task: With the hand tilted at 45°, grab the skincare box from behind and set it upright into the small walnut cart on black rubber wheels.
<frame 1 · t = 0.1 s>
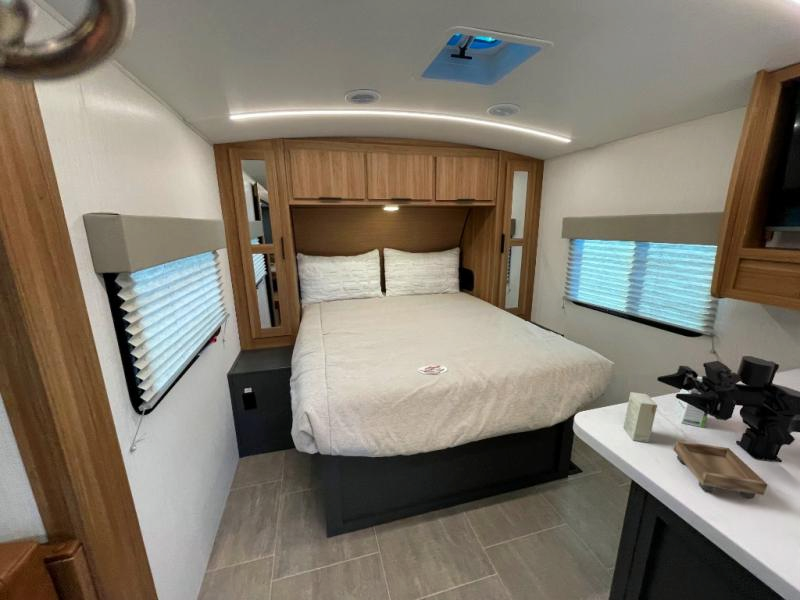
hand: (666, 386, 89), 17 cm above the table, tool horizontal, fingers open, 9 cm apart
skincare box: (634, 435, 94), on the table
wheeled cart: (714, 469, 78), point 3 cm above the table, slide at 0.0 cm
syrup box: (688, 420, 101), on the table
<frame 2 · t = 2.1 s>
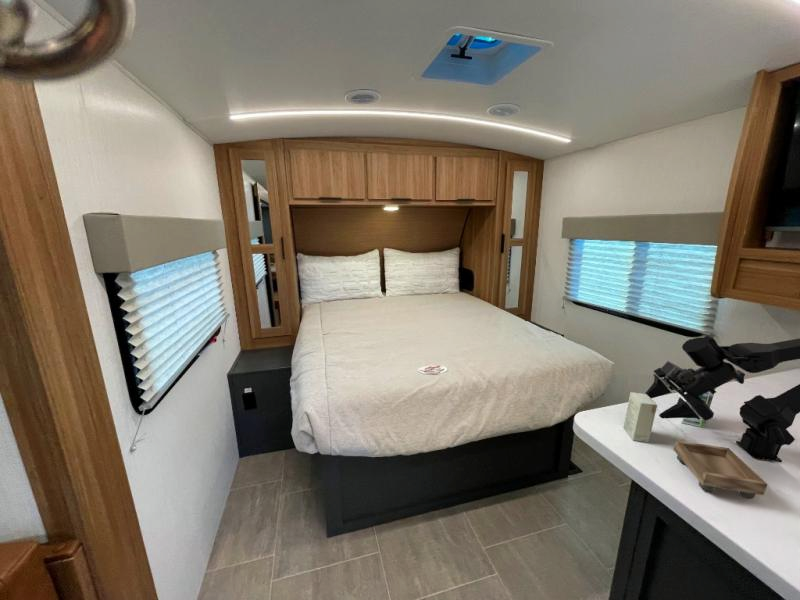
hand: (651, 407, 91), 10 cm above the table, tool tilted 45°, fingers open, 9 cm apart
nothing on the table moved.
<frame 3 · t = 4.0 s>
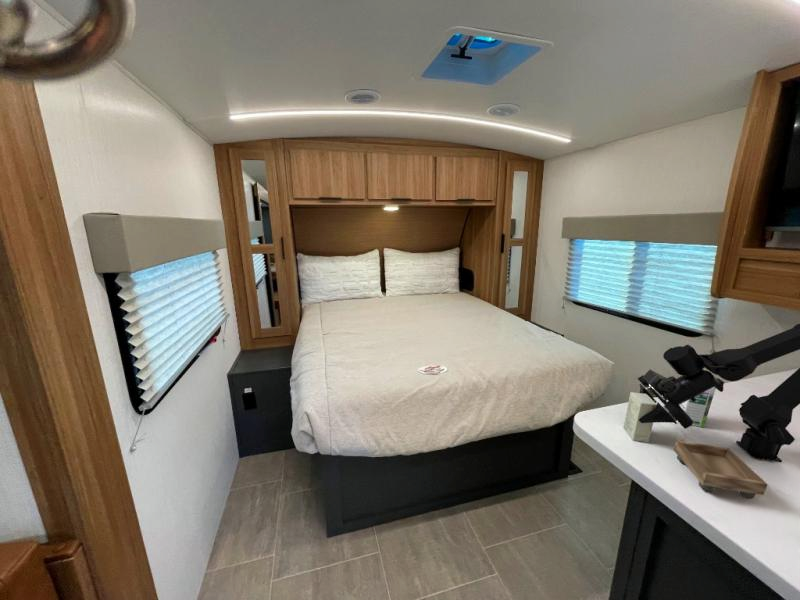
hand: (634, 414, 93), 7 cm above the table, tool tilted 45°, fingers closed on skincare box, 6 cm apart
skincare box: (634, 435, 94), on the table, touching gripper
everything else where it was.
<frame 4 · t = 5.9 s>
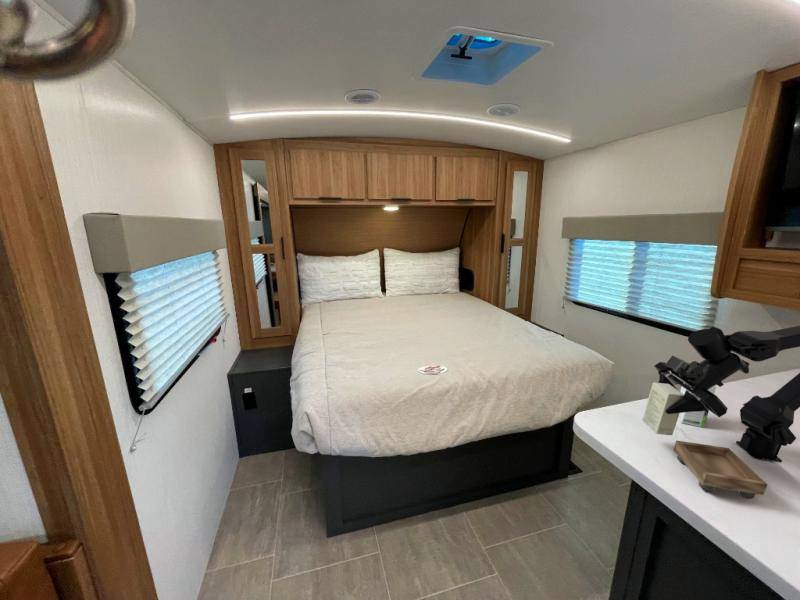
hand: (658, 405, 86), 13 cm above the table, tool tilted 45°, fingers closed on skincare box, 6 cm apart
skincare box: (655, 428, 88), point 6 cm above the table, touching gripper
everything else where it was.
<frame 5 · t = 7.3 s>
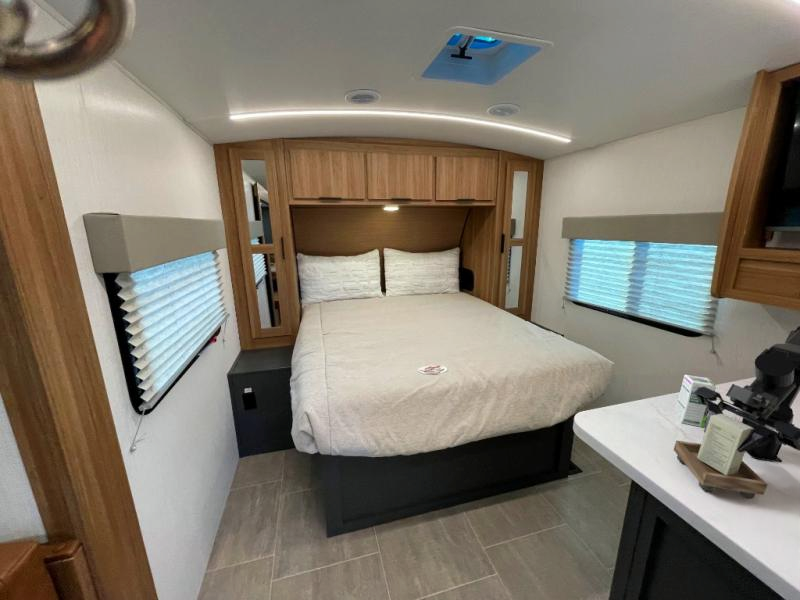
hand: (721, 441, 75), 11 cm above the table, tool tilted 45°, fingers closed on skincare box, 6 cm apart
skincare box: (715, 465, 78), point 4 cm above the table, touching gripper
everything else where it was.
when the fingers open (11 cm above the table, at t = 8.2 s): skincare box stays where it is, resting on wheeled cart.
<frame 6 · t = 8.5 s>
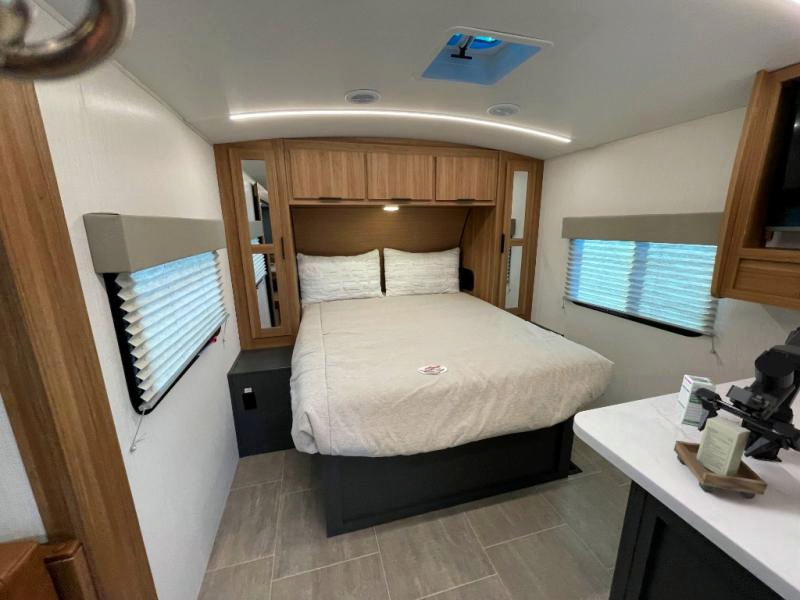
hand: (720, 442, 75), 11 cm above the table, tool tilted 45°, fingers open, 9 cm apart
skincare box: (713, 468, 78), point 3 cm above the table, touching wheeled cart
wheeled cart: (715, 469, 78), point 3 cm above the table, slide at 0.0 cm, touching skincare box
everything else where it was.
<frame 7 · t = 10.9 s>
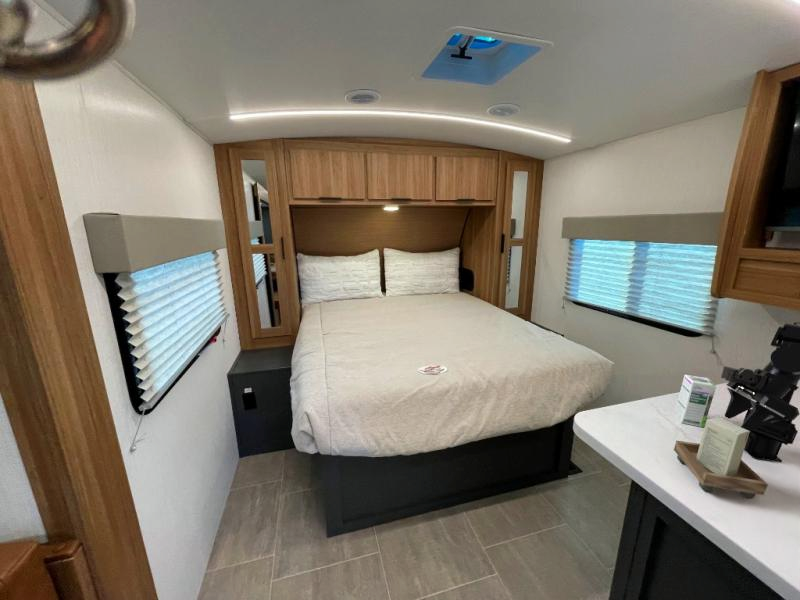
hand: (734, 423, 80), 12 cm above the table, tool tilted 25°, fingers open, 9 cm apart
nothing on the table moved.
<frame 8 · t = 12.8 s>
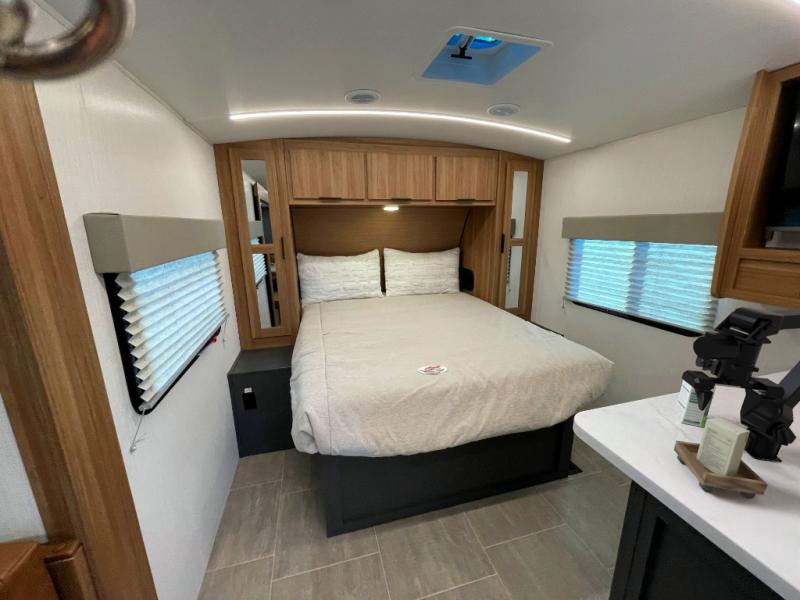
hand: (721, 412, 84), 13 cm above the table, tool pointing down, fingers open, 9 cm apart
nothing on the table moved.
at the end: skincare box inside the target area on the wheeled cart (0.4 cm from its centre), point 3.1 cm above the wheeled cart's base; skincare box tilted 0°; the gripper is holding nothing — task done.
